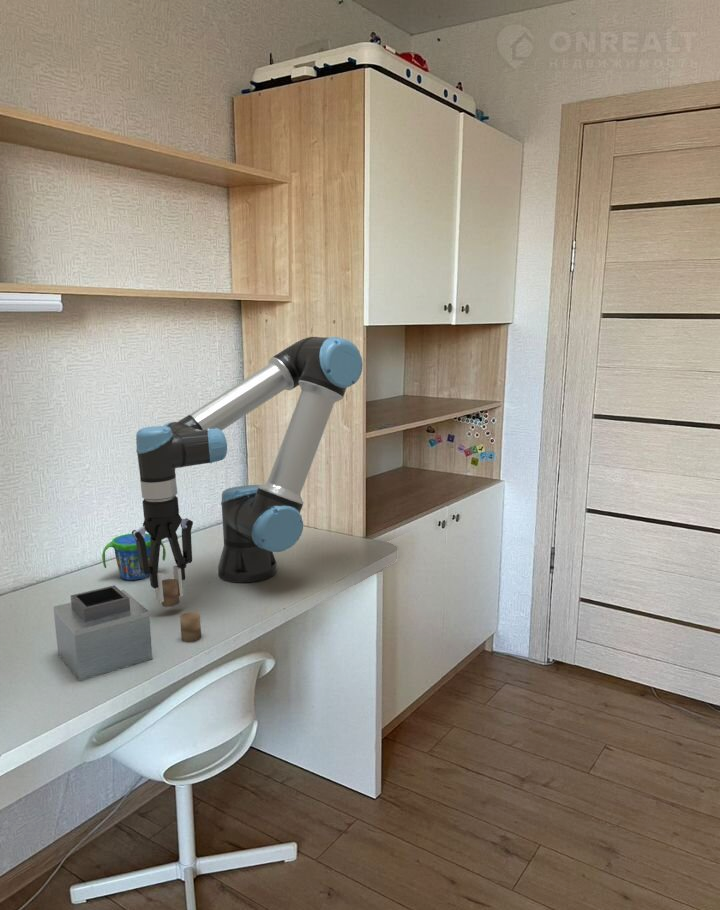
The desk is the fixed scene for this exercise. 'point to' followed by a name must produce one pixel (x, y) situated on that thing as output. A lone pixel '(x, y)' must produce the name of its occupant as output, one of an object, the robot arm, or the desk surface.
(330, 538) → the desk surface
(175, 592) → the pellet
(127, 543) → the snack cup
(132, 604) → the grey block with socket
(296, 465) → the robot arm
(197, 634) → the pellet
